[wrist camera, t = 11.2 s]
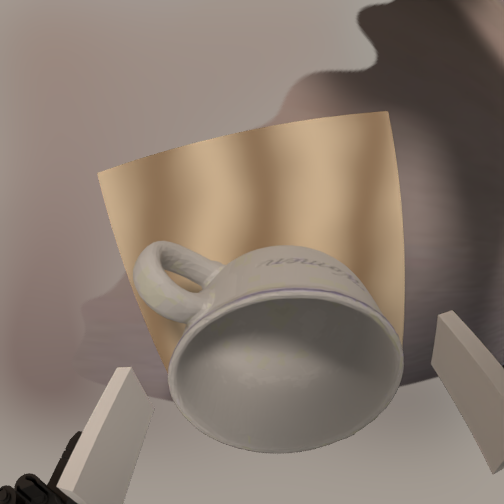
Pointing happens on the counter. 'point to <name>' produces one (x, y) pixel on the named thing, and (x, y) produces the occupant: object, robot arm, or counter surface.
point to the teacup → (273, 345)
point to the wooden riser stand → (268, 204)
